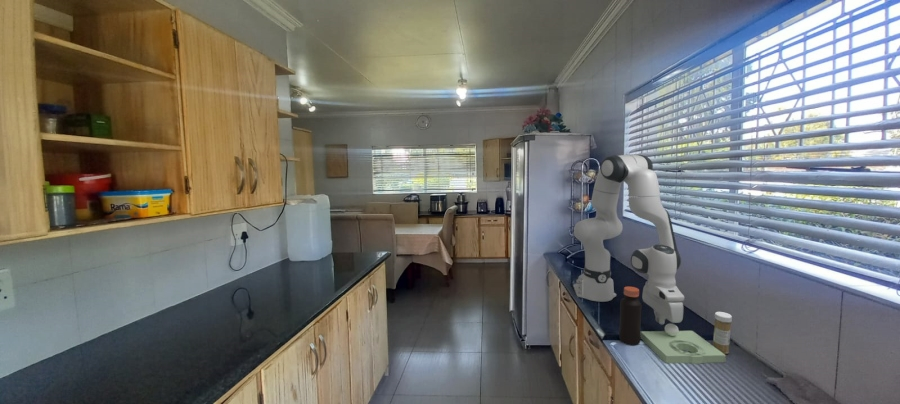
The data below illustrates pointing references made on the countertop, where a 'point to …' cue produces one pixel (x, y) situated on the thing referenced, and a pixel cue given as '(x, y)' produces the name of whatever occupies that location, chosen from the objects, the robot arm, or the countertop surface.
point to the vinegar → (630, 317)
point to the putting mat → (682, 347)
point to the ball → (671, 329)
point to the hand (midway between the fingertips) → (659, 322)
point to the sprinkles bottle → (722, 331)
